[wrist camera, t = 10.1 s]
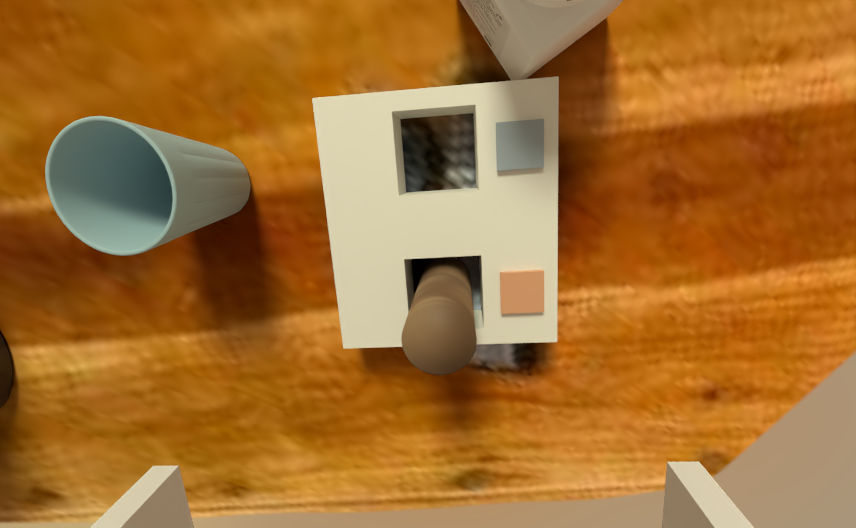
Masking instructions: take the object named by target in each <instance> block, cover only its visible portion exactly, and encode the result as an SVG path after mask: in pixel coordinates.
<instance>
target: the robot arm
mask: <svg viewBox="0 0 856 528" xmlns="http://www.w3.org/2000/svg"><path fill="white" fill-rule="evenodd" d="M11 384H12V365H11V359H10V355H9V352H8V349H7V346H6V344H5V342H4V340H3V338H2V336H1V334H0V408H1V407H2V405H3V404H4V403H5V401H6V399H7V397H8V395H9V392H10V389H11ZM90 528H194V526H193V522H192V518H191V514H190V510H189V505H188V501H187V497H186V493H185V489H184V485H183V481H182V477H181V473H180V469H179V466H153V467H152V468H151V469H150V470H149V471H148V472H147V473H146V474H144V475H143V476H142V477H141V478H140V479H139V480H138V481H137V482H136V483H135V484H134V485H133V486H132V487H131V488H130V489H129V490H128V491H127V492H126V493H125V494H124V495H123V496H122V497H121V498H120V499H119V500H118V501H117V502H116V503H115V504H114V505H113V506H112V507H111V508H110V509H109V510H108V511H107V512H106V513H105V514H103V515H102V516H101V517H100V518H99V519H98V520H97V521H96V522H95V523H94V524H93V525H92V526H91V527H90ZM662 528H754V527H753V526H752V525H751V524H750V523H749V521H748V520H747V519H746V518H745V517H744V515H743V514H742V513H741V512H740V511H739V509H738V508H737V507H736V506H735V505H734V503H733V502H732V501H731V500H730V499H729V497H728V496H727V495H726V494H725V492H724V491H723V490H722V489H721V488H720V486H719V485H718V484H717V483H716V482H715V480H714V479H713V478H712V477H711V475H710V474H709V473H708V472H707V471H706V469H705V468H704V467H703V466H702V465H701V463H700V462H667V471H666V483H665V496H664V509H663V521H662Z"/></svg>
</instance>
